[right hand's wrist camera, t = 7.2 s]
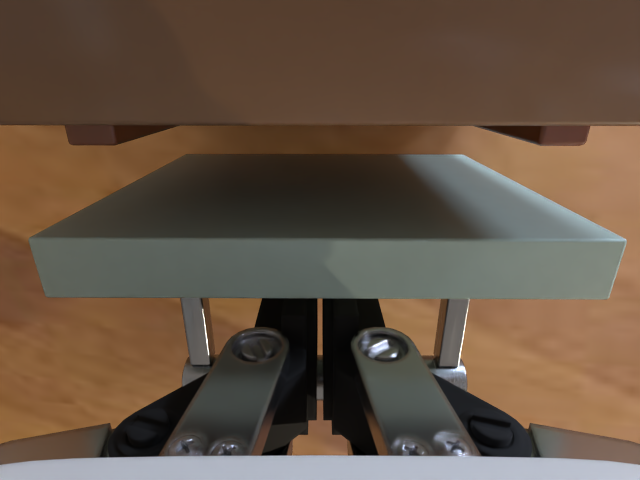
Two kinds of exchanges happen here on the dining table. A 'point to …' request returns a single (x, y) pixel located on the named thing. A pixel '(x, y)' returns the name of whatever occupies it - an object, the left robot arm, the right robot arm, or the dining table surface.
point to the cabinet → (320, 62)
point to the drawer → (327, 236)
